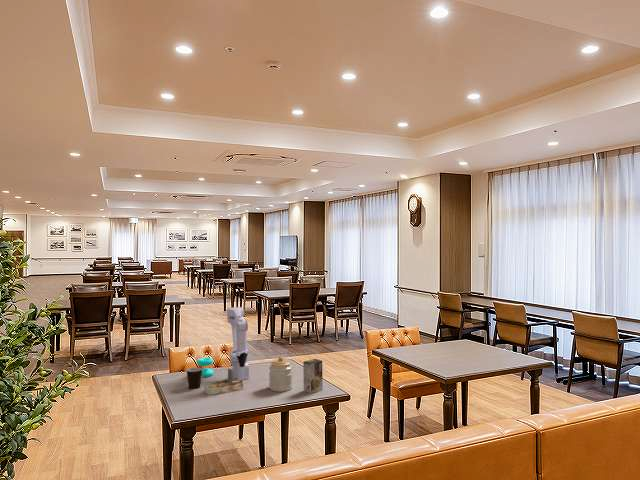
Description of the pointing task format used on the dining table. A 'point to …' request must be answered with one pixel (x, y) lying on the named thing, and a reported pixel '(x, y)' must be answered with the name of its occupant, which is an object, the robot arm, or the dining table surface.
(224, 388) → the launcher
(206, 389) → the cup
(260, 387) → the dining table surface
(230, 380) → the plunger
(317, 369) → the coffee box
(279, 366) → the jar
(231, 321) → the robot arm
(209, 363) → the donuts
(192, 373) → the coffee mug
